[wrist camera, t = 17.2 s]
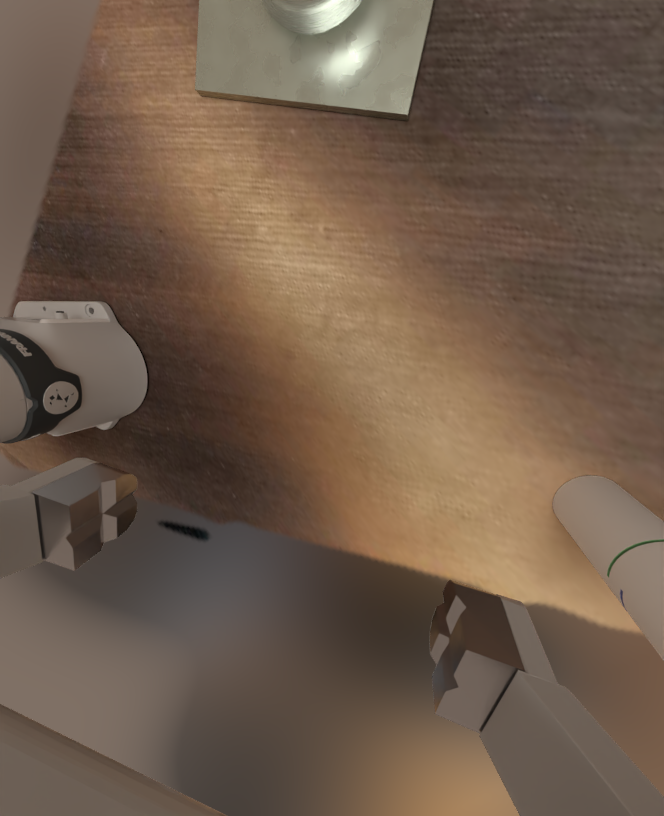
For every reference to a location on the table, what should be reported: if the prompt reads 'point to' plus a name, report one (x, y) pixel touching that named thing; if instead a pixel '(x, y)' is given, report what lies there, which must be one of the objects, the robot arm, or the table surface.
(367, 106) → the duct stub
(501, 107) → the table surface
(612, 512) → the cylindrical container
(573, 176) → the table surface
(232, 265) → the table surface
